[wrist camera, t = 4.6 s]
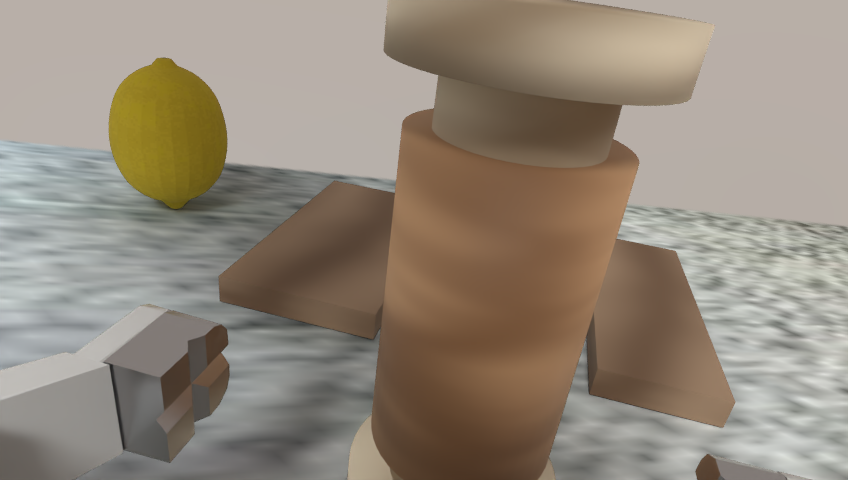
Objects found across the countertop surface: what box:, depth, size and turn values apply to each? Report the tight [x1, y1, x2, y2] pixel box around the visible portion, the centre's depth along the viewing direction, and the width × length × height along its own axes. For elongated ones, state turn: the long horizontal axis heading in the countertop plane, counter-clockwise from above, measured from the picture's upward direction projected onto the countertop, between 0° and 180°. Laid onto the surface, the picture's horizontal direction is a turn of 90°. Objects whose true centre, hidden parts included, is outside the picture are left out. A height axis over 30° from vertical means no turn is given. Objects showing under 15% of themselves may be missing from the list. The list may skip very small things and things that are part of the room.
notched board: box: [219, 181, 735, 428], centre depth 27 cm, size 20×12×1 cm, turn 76°
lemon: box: [109, 58, 227, 209], centre depth 29 cm, size 6×6×8 cm
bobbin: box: [347, 0, 715, 480], centre depth 13 cm, size 6×6×13 cm
